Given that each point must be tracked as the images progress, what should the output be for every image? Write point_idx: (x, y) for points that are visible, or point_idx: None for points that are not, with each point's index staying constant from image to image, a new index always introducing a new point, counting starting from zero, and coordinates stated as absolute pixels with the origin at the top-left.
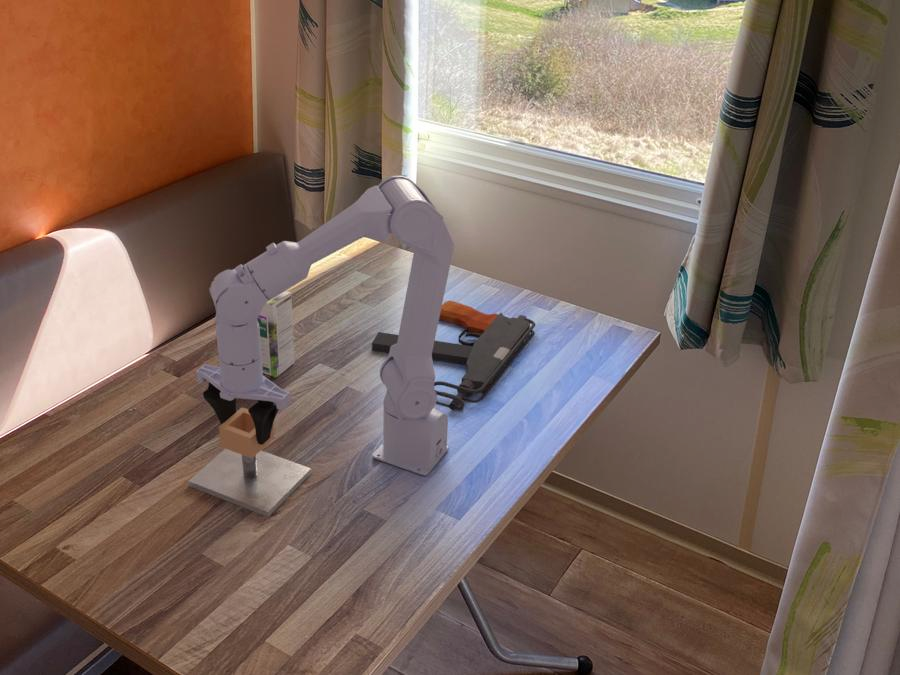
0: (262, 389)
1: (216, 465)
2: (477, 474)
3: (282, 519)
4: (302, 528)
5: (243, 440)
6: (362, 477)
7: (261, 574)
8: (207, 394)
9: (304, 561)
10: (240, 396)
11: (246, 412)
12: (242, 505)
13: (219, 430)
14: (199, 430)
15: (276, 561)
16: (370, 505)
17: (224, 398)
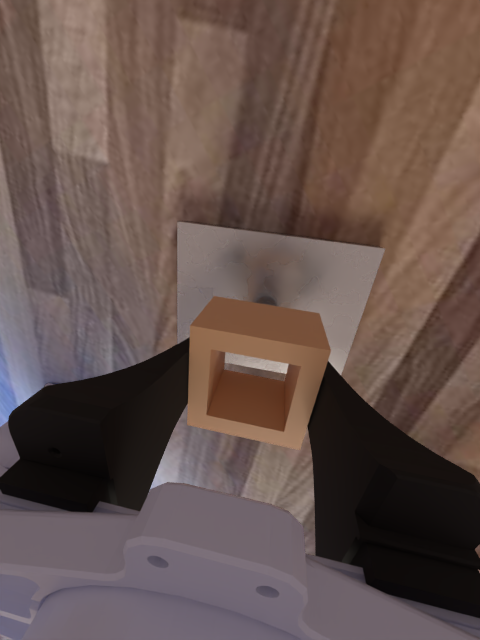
0: (14, 605)
1: (342, 313)
2: (7, 400)
3: (157, 226)
4: (114, 217)
5: (225, 321)
6: (113, 360)
7: (94, 38)
8: (458, 506)
9: (55, 129)
10: (104, 539)
11: (274, 432)
12: (240, 228)
13: (327, 342)
14: (421, 396)
15: (95, 100)
16: (66, 309)
17: (227, 505)
